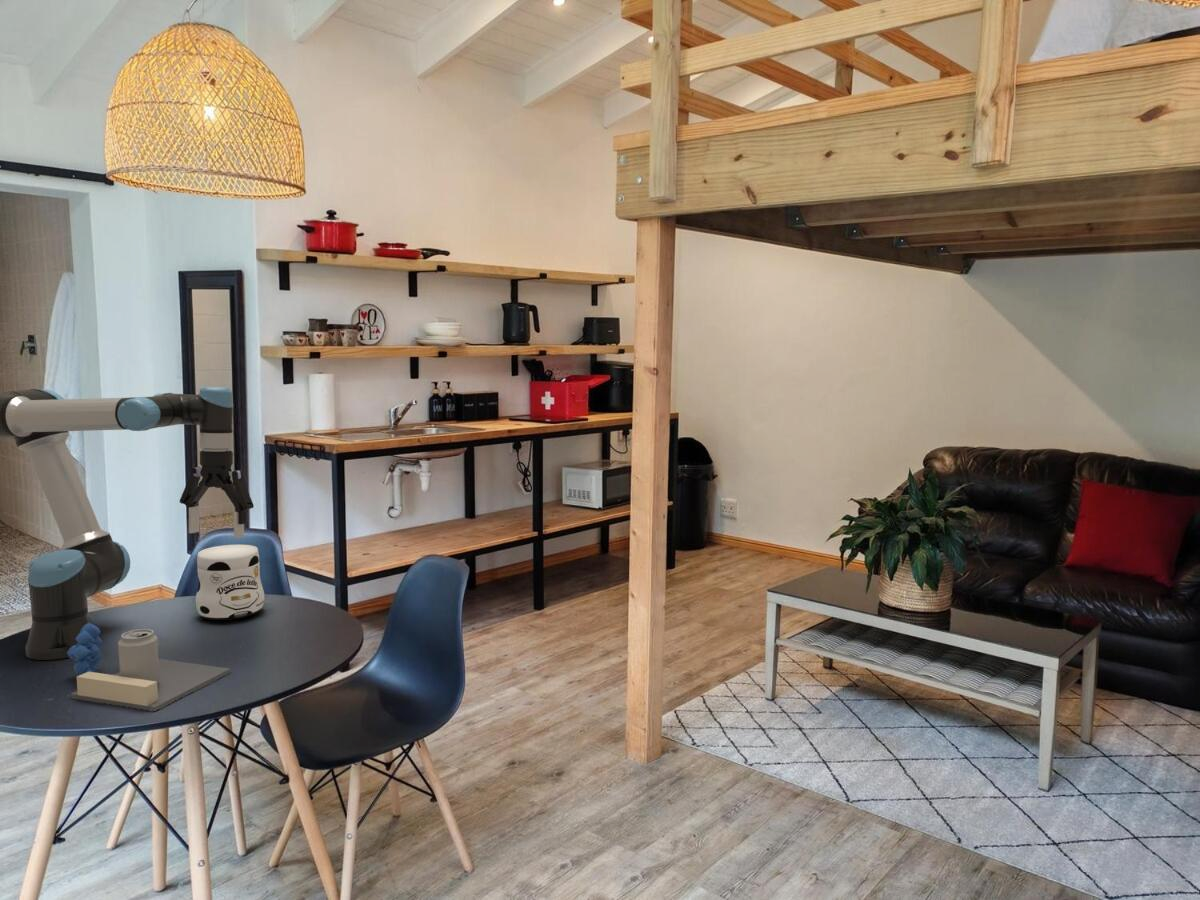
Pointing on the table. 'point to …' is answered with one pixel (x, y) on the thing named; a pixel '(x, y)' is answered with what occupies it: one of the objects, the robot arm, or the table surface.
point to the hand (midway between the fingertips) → (216, 534)
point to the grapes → (86, 649)
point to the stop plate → (173, 683)
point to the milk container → (229, 582)
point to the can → (139, 655)
